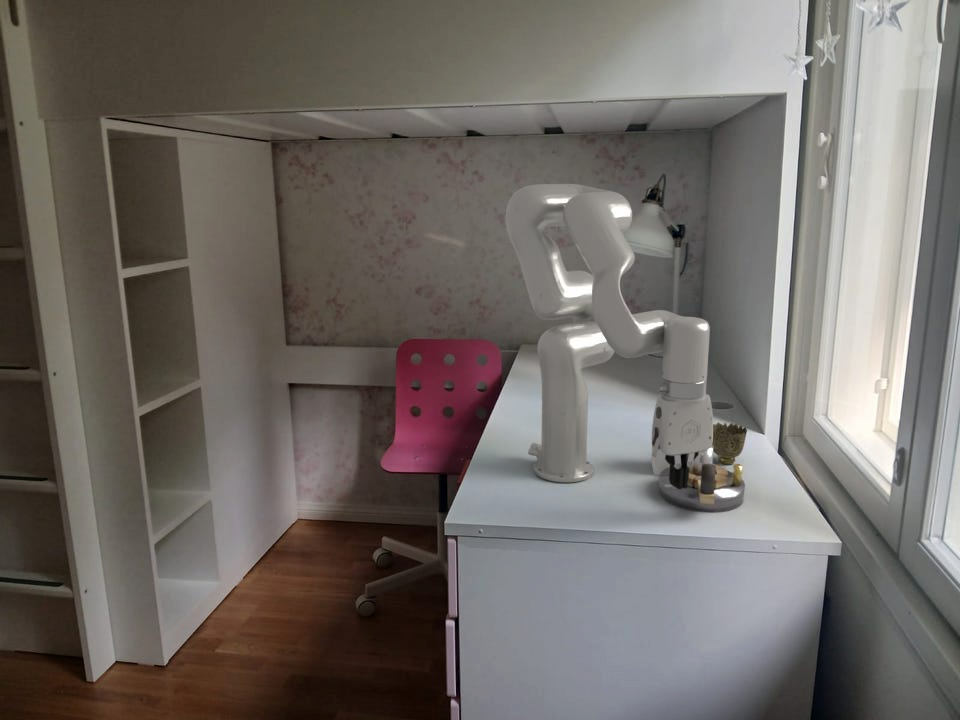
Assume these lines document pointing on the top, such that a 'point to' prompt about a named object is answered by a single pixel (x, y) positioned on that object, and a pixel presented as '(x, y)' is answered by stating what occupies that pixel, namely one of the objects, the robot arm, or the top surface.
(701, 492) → the wrench
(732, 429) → the cup
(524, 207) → the robot arm
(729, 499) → the post base
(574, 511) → the top surface
